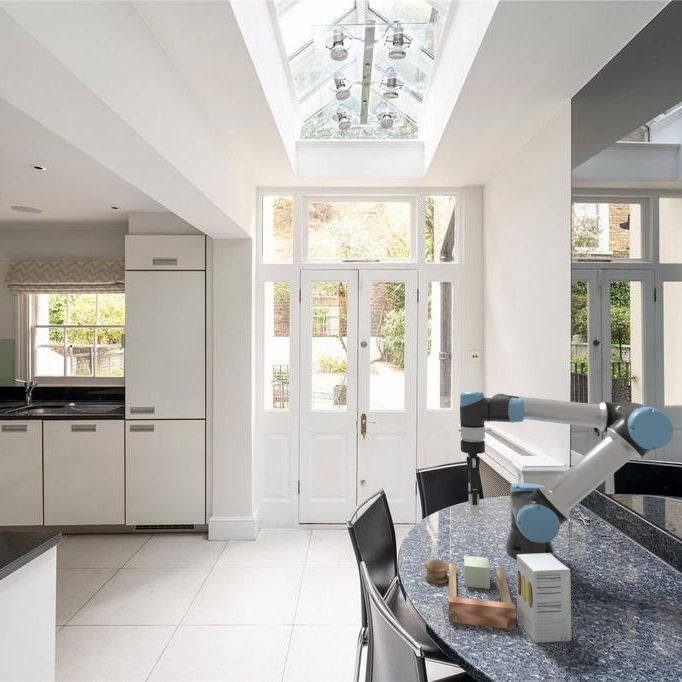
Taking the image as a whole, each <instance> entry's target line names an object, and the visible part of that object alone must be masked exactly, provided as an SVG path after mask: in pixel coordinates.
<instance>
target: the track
mask: <svg viewBox="0 0 682 682" xmlns="http://www.w3.org/2000/svg"><path fill="white" fill-rule="evenodd" d="M456 564H457V563H448V565H449V569H448V576H449V580H448V622H450V623H456V624H463V625H466V624H467V625H473V626H483V627H490V628H500V629H506V630H507V629H509V630H517V625H516V624H517V622H516V621H517V619H516V618H517V615H516V614H517V612H516V610H517V609H516V605H515V603H512V598H511V594H510V590H509V587H508V583H507V578H506V574H505V569H504V567H496V569H495V571H496V574H495V575H496V581H497V586H498V590H499V596H500V600H501V601H493V600H485V599H484V600H483V599H475V598H467V597H466V598H465V597H464V598H463V597H457V569H456V568H457V567H456V566H457V565H456Z"/></svg>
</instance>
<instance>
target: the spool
mask: <svg viewBox="0 0 682 682" xmlns="http://www.w3.org/2000/svg"><path fill="white" fill-rule="evenodd" d="M423 565H424V569H426V572H425V573H424V580H426V581H427V582H429V583H432V584H435V585H436V584H438V585H439V584H440V585H441V584H446V583H447V582H448V583H449V574H448V571H449V563H447V561H445V560H441V559H434V558H433V559H428V560H426V561H424V564H423Z"/></svg>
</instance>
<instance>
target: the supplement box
mask: <svg viewBox="0 0 682 682" xmlns="http://www.w3.org/2000/svg"><path fill="white" fill-rule="evenodd" d="M571 585H572V584H571V569H570V568H569V567H567V566H566V565H565V564H563V562H561V560H559V559H557V558H556V557H555V555H554V556H553V555H552V554H551V553H540V554H518V555H517V559H516V595H517V596H516V599H517V601H516V602H517V603H516V605H517V609H516V610H517V612H516V614H517V615H516V618H517V619H516V621H517V622H518V623H519V624H520V626H521V627H522V628H523V630H524V631H525V632H526V633H527V634H528V637H530V639H531V640H532V641H533V643H535V644H536V643H539V644H540V643H555V642H571V641H572V604H571V602H572V601H571V595H572V594H571V593H572V592H571V590H572V589H571V588H572V587H571Z"/></svg>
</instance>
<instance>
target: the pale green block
mask: <svg viewBox="0 0 682 682" xmlns="http://www.w3.org/2000/svg"><path fill="white" fill-rule="evenodd" d="M490 567H491V566H490V562H489V557H483V556H473V555H472V556H471V555H463V570H464V571H463V577H464V587H467V588H468V587H469V588H477V589H478V588H479V589H488V590H489V589H491V569H490Z"/></svg>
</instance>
